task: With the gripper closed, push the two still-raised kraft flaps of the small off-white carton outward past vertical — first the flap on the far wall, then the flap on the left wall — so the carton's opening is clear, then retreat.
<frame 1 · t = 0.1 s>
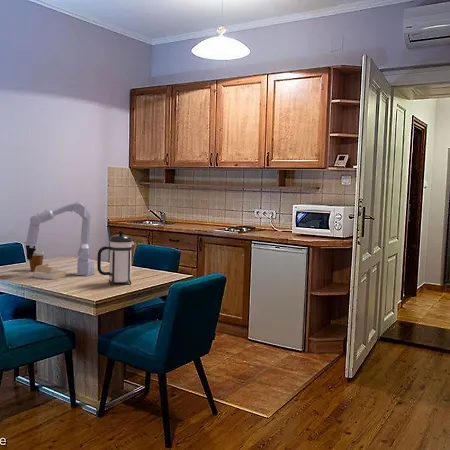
hand: (28, 258, 285), 10 cm above the table, tool pointing down, fingers open, 7 cm apart
carton: (49, 276, 286), on the table
coffee press: (117, 283, 274), on the table
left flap: (44, 269, 281), point 5 cm above the table, hinge at 70.0°
far flap: (41, 267, 287), point 5 cm above the table, hinge at 70.0°
disposable coffee cup: (36, 270, 304), on the table
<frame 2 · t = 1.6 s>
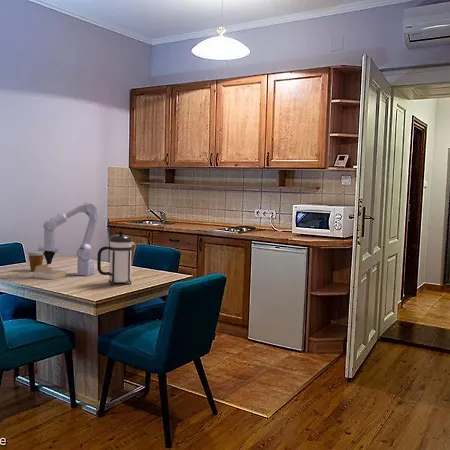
hand: (49, 263, 285), 8 cm above the table, tool pointing down, fingers closed
nothing on the table moved.
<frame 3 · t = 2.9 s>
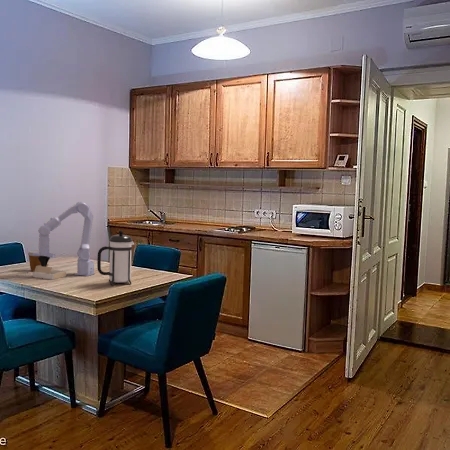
hand: (43, 268, 287), 4 cm above the table, tool pointing down, fingers closed, pressing on far flap
far flap: (41, 267, 287), point 5 cm above the table, hinge at 70.0°, touching gripper
everything else where it was.
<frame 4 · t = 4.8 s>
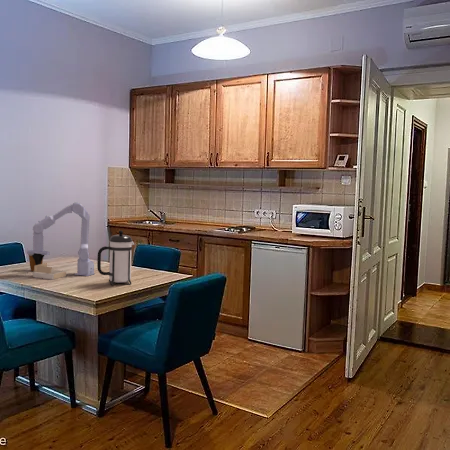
hand: (38, 266, 288), 5 cm above the table, tool pointing down, fingers closed
far flap: (40, 267, 288), point 5 cm above the table, hinge at 89.0°
everything else where it was.
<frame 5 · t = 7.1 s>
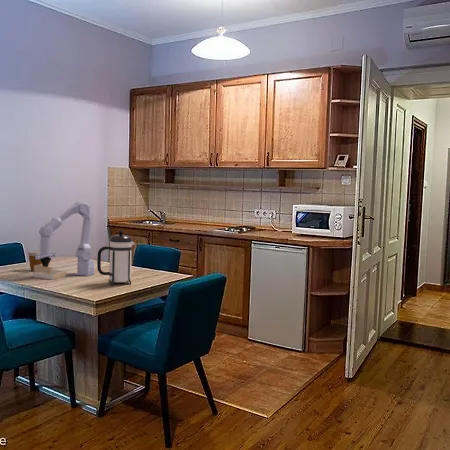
hand: (45, 270, 282), 4 cm above the table, tool pointing down, fingers closed, pressing on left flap
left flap: (44, 269, 281), point 5 cm above the table, hinge at 70.5°, touching gripper
far flap: (40, 267, 288), point 5 cm above the table, hinge at 95.8°
everything else where it was.
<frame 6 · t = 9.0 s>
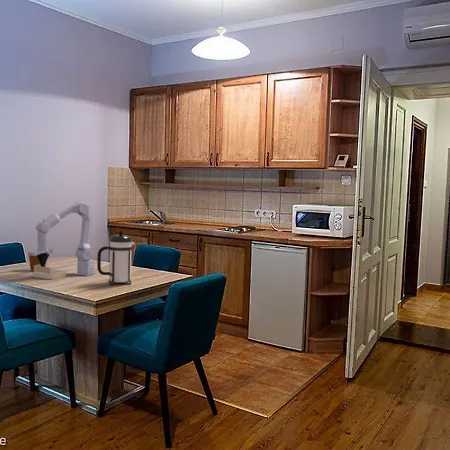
hand: (42, 266, 280), 7 cm above the table, tool pointing down, fingers closed
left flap: (43, 269, 280), point 5 cm above the table, hinge at 89.6°
far flap: (40, 267, 288), point 5 cm above the table, hinge at 97.3°
everything else where it was.
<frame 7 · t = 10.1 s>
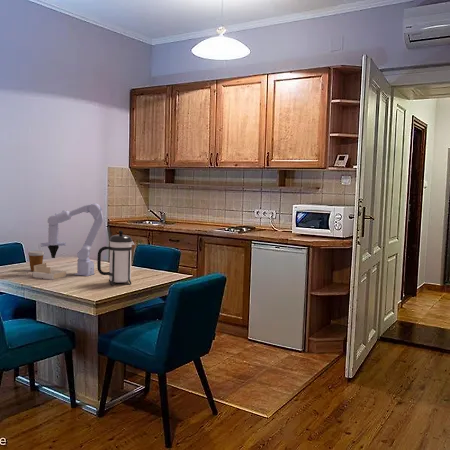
hand: (53, 257, 294), 10 cm above the table, tool pointing down, fingers closed
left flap: (43, 269, 280), point 5 cm above the table, hinge at 93.8°
far flap: (40, 267, 288), point 5 cm above the table, hinge at 97.6°
everything else where it was.
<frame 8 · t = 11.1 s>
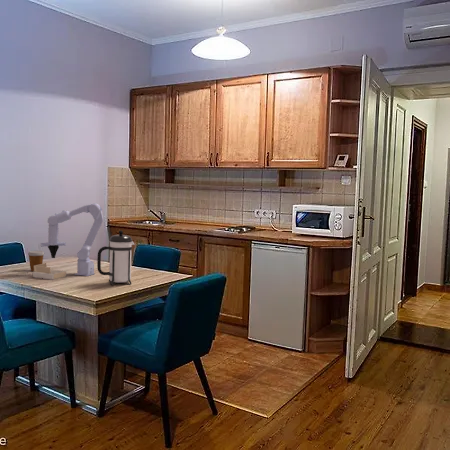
hand: (53, 257, 294), 10 cm above the table, tool pointing down, fingers closed
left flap: (43, 269, 280), point 5 cm above the table, hinge at 95.7°
everything else where it was.
at the end: far flap at +98° (first picture: +70°); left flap at +96° (first picture: +70°) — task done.
